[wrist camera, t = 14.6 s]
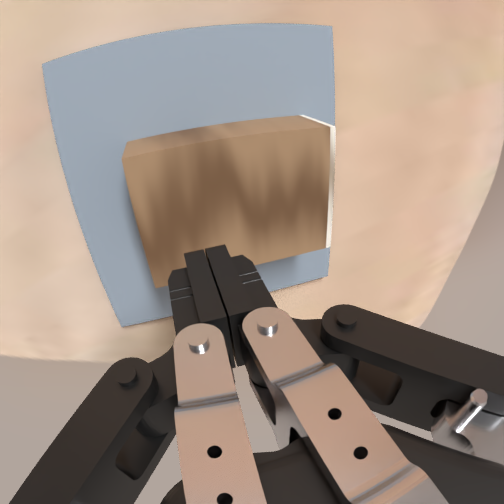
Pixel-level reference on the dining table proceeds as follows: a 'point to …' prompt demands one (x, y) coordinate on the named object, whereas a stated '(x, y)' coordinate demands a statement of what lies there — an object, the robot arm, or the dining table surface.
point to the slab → (233, 190)
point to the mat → (176, 129)
